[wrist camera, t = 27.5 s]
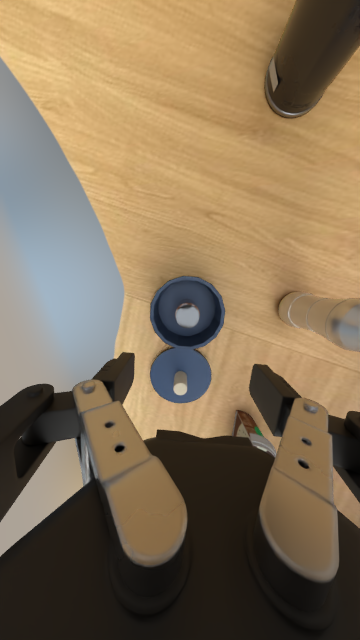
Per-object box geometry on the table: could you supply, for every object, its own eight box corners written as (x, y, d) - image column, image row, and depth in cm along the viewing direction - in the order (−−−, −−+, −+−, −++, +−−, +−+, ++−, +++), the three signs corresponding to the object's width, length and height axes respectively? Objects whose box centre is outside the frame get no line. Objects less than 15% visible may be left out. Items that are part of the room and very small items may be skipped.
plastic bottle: (273, 324, 38) (367, 374, 18) (275, 290, 36) (380, 306, 17) (305, 323, 38) (436, 372, 18) (309, 289, 36) (455, 303, 17)
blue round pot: (157, 274, 36) (152, 273, 30) (221, 279, 36) (229, 280, 30) (154, 335, 39) (148, 346, 33) (213, 340, 39) (219, 352, 33)
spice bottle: (177, 297, 37) (175, 302, 29) (198, 299, 37) (202, 305, 29) (175, 318, 37) (173, 328, 30) (196, 320, 37) (199, 330, 30)
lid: (152, 343, 39) (147, 354, 34) (214, 348, 39) (219, 360, 34) (149, 397, 42) (144, 415, 37) (206, 402, 42) (210, 421, 37)
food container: (255, 450, 45) (275, 499, 35) (229, 448, 45) (242, 496, 35) (264, 406, 42) (288, 445, 32) (237, 404, 42) (253, 442, 32)
